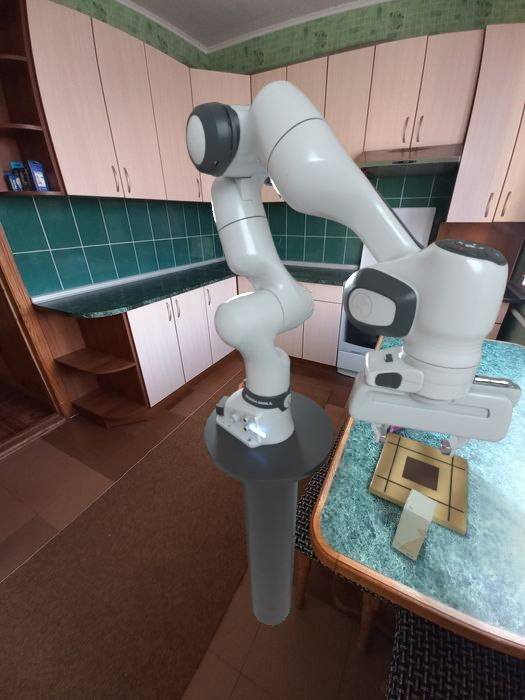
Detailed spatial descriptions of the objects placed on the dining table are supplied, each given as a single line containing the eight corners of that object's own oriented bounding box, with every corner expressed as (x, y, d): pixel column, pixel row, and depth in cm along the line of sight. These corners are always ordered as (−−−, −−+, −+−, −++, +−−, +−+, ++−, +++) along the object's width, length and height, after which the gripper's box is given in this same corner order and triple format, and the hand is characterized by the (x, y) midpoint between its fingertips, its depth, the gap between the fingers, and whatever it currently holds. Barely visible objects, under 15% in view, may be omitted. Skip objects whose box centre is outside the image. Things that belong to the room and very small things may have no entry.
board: (368, 491, 64) (369, 486, 63) (387, 435, 79) (388, 431, 78) (464, 535, 56) (466, 530, 55) (465, 463, 70) (467, 458, 70)
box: (415, 562, 52) (430, 524, 47) (390, 545, 54) (402, 508, 49) (423, 538, 55) (438, 501, 50) (400, 524, 58) (412, 487, 53)
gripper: (515, 368, 39) (481, 444, 45) (355, 351, 44) (345, 421, 50) (540, 396, 33) (498, 478, 40) (355, 372, 39) (344, 448, 45)
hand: (411, 446), depth 45 cm, fingers open, 8 cm apart
